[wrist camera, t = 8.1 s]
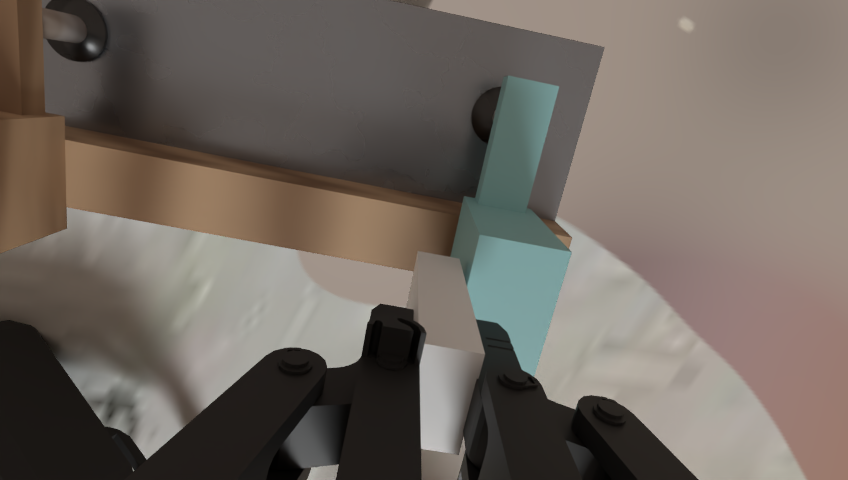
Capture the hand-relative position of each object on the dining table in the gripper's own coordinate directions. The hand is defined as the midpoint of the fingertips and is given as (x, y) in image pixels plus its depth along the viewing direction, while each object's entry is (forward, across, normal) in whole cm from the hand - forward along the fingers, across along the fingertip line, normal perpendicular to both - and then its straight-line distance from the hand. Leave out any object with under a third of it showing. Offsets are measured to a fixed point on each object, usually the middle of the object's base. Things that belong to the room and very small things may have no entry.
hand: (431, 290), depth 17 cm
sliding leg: (+8, +3, +3) cm, 9 cm away
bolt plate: (+9, -7, +4) cm, 12 cm away
